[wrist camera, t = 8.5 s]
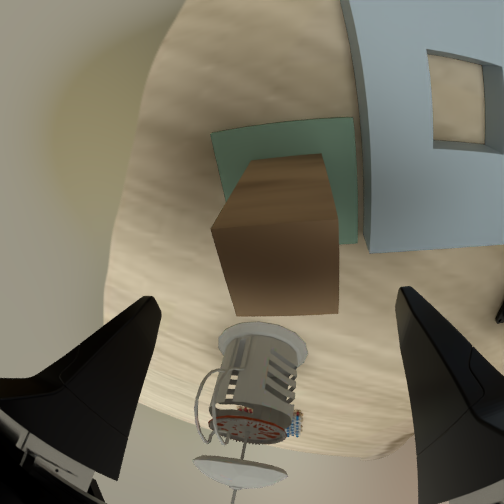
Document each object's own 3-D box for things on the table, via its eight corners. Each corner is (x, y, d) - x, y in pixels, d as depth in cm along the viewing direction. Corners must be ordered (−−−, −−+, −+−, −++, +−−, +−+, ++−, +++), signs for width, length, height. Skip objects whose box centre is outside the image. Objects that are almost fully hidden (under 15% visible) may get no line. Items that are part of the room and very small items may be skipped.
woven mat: (303, 406, 37) (302, 417, 35) (302, 428, 43) (301, 438, 41) (235, 402, 39) (233, 413, 37) (246, 425, 45) (244, 434, 43)
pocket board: (505, 227, 16) (519, 243, 14) (363, 234, 19) (369, 253, 17) (501, -4, 6) (519, -7, 4) (327, -42, 9) (330, -57, 7)
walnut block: (326, 216, 19) (338, 313, 11) (262, 221, 20) (236, 316, 13) (321, 153, 16) (338, 219, 9) (251, 160, 17) (210, 229, 10)
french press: (245, 378, 33) (201, 561, 13) (190, 320, 28) (106, 550, 8) (319, 366, 29) (296, 580, 9) (278, 298, 24) (218, 606, 4)
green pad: (356, 240, 20) (357, 243, 20) (238, 247, 22) (237, 250, 22) (352, 116, 15) (353, 117, 15) (212, 132, 17) (210, 133, 17)
